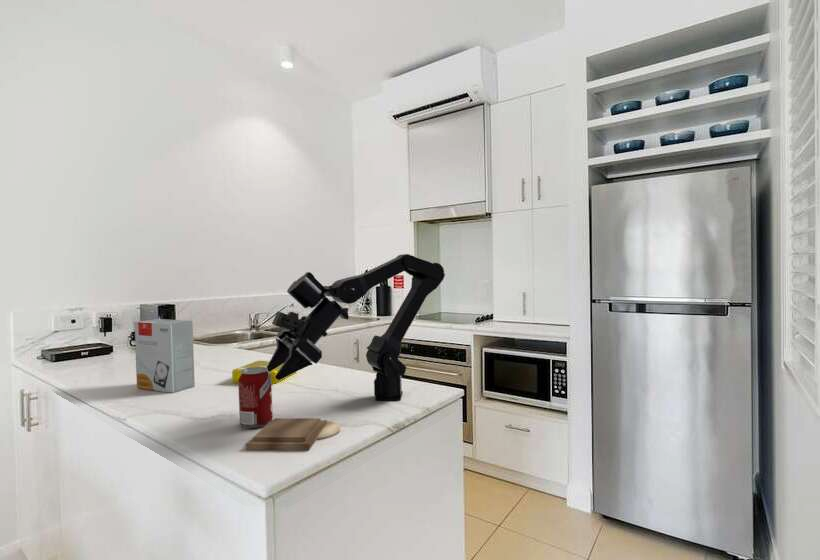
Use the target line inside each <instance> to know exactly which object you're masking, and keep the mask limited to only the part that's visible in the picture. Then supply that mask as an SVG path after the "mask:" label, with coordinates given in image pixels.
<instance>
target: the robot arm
mask: <svg viewBox="0 0 820 560" xmlns="http://www.w3.org/2000/svg"><path fill="white" fill-rule="evenodd" d="M404 272H405V273H406V274H408V275H409V276H412V278H411V287H410V289H409V291H408V293H407V295H406V297H405V298H404V300H403V301H402V304H401V305H400V307H399V309H398V310H397V311H396V313H395V316H394V317H393V319H392V320H391V322H390V324H389V326H388V327H387V329H386V331H385V332H384V333H383V334H382V335H380V336H379V335H376V334H375V335H374V336H373V338H372V339H371V342H370V344H369V345H368V346H367V347H366V351H367V352H366V353H365V357H366V361H367V363H368V365H370V366H371V368H372V371H373V372H376V374H375V378H374V380H373V388H374V389H373V392H374V393H373V394H374V397H375V398H374V400H375V401H401V400H402V397H403V394H404V391H402V389H403V388H402V385H403V384H402V383H403V382H402V377H403V376H405V373H406V370H407V366H406V365H405V364H403V362H402V361H400V359H399V357H400V355H401V349H402V341H403V339H404V338H405V335H406V334H407V331H408V330H409V328H410V326H411V325H412V323H413V322H414V320H415V317H416V316H417V315H418V313H419V311H420V308H421V307H422V305H423V303H424V302H425V300H426V298H427V297H428V295H430V294H431V293H433V292H434V290H436V289H437V288H438V287H439V286H440V284H441V283H442V282H443V281H444V280H445V275H446V273H445V270H444V267H443V266H442V265H441V264H440V263H439V262H431V261H428V260H425V259H422V258H419V257H416V256H414V255H412V254H410V253H405V254H402V253H401V254H399V255H397V256H396V257H394V258H392V259H390V260H388V261H386V262H384V263H382V264H380V265H378V266H375V267H374V268H372V269H369V270H367V271H366V272H363V273H361V274H358V275H352V276H348V277H345V278H341V279H337V280H336V281H334V282H332V284H331V285H324V286H323V284H322V283H321V282H319V280H318V279H317V278H316V277H315V275H314V274H312V273H311V272H310V271H307V272H305V273H304V274H303V275H302V276H300V277H299V278H298V279H296V280H295V281H293V282H292V283H291V284H290V285H289V287H288V288H287V292H286V293H288V294H289V296H290V297H292V299H294V300H295V301H296V302H297V303H299V304H300V306H302V307H303V308H304V309H308V308H310V309H312V310H311V311H310V313H308V315H307V316H306V315H302V316H301V317H299V313H296V312H294V311H289V312H288V313H287V314H286V313H285V312H282V311H276V314H275V316H274V318H273V321H272V323H271V324H272V325H274V326H276V327H278V328H282V329H281V330H279V332H278V333H277V334H276V335H275V336H276V337H275V342H276V348H275V350H274V352H273V354H272V357H271V358H270V360H269V361H270V362H269V364H268V366H267V368H268V371H269V372H270V371H272V370H274V369H275V368H277V367H278V366H280V365H282V364H283V363H284V364H283V365H282V367H281V368H280V370H279V371H278V373H277V374H276V376H275V378H276V379H277V380H281V379H282V378H284V377H286V376H288V375H290V374H292V373H294V372H296V373H297V372H299V371H301V370H303V369H304V368H307V367H309V366H312V365H313V363H314V364H316V365H317V363H318V362H319V361H320V360H321V359H322V357H323V355H322V354H323V353H322V350H321V349H320V348H319V347H317V346H316V344H317V343H318V341H320V339H321V338H322V337H324V338H326V337H327V335H329V334H328V333H327V331H328V330H329V329H330V328H331V326H333V324H334V323H335V322H336V321H337V320H338V319H339V317H340V318H341V319H343V320H349V319H350V316H349V308H348V307H342V306H341V305H340V303H341V304H348V305H350V304H354V303H356V302H357V301H358V300H360V299H362V298H363V297H364V296H366V294H367V293H368V292H369V291H370V289H372V288H374V287H375V286H378V285H380V284H381V283H383V282H385V281H388V280H390V279H391V278H393V277H395V276H397V275H399V274H401V273H404ZM328 297H332V299H333V300H330V299H329V298H328Z"/></svg>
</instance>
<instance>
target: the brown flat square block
mask: <svg viewBox="0 0 820 560" xmlns="http://www.w3.org/2000/svg"><path fill="white" fill-rule="evenodd" d="M327 421H328V419H327V420H326V419H323V420H322V418H321V417H320V418H319V417H317V418H316V417H309V418H308V417H300V418H299V417H296V418H295V417H294V418H293V417H292V418H291V417H289V418H288V417H285V418H284V417H283V418H282V417H273V419H272V421H271V422H269V423H268V424H267V425H265V426H263V428H262V429H261V430H260V431H258V432H257V433H256V434H255V435H254V436H253V437H251V439H249V440H248V441H247V442H246V447H245V449H246V450H249V451H252V450H253V451H256V450H257V451H310V450H311V449H312V447H313V446H314V444H315V443H316V441H318V440H317V438H316V437H317V436H318V435H319V433H320V432H321V431H322V429H323V428H324V427H325V425H326V424H327Z"/></svg>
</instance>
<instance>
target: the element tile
mask: <svg viewBox="0 0 820 560" xmlns="http://www.w3.org/2000/svg"><path fill="white" fill-rule="evenodd" d="M269 362H270V360H256V361H254V362H251V363H247V364H245V365H242V366H240V367H237V368H235V369H232V371H231V376H232V378H231V379H232V380H231V381H232V384H233V385H238V379H239V378H240V376H241V374H242V373H241V371H242V370H244V369H247V368H252V367H266V368H267V366H268V364H269ZM283 364H284V363H283ZM283 364H282V365H283ZM282 365H280V366H278V367H277V368H275V369H274V370H272V371H270V372H269V371H268V372H269V374H270V375H271V385H272V384H276V385H278V384H280V383H282V382H284V381H286V380H287V379H286V378H288V377H290V376H292V375H294V374H296V375H297V371H296V372H294V373H292V374H290V375H288V376H286V377H284V378H282V379H281V380H277V379H276V378H275V376H276V374H277V373H278V371H279V370H280V368H281V367H282ZM294 376H295V375H294ZM292 377H293V376H292ZM290 378H291V377H290ZM285 379H286V380H285ZM288 379H289V378H288ZM283 380H284V381H283ZM281 381H282V382H281ZM279 382H280V383H279ZM277 383H278V384H277ZM272 386H273V385H272Z"/></svg>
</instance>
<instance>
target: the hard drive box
mask: <svg viewBox="0 0 820 560" xmlns="http://www.w3.org/2000/svg"><path fill="white" fill-rule="evenodd" d="M133 324H134V344H135V346H134V348H135V371H136V372H135V373H136V389H142V390H146V391H147V390H148V391H154V392H155V391H157V392H160V393H161V392H162V393H170V394H174V393H177V392H180V391H184V390H187V389H190V388H194V387H195V386H196V385H195V382H196V381H195V359H194V358H195V357H194V355H195V354H194V352H195V351H194V332H193V331H194V329H193V328H194V326H193V320H185V319H184V320H183V319H165V318H154V319H149V320H148V319H147V320H139V321H134V322H133Z"/></svg>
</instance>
